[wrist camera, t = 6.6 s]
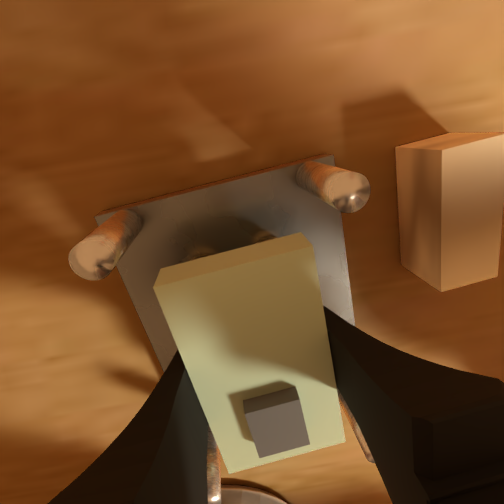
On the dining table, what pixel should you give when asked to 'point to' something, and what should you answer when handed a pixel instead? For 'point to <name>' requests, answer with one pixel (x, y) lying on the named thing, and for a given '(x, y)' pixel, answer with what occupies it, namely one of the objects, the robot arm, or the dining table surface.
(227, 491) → the mug
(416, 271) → the block
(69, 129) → the dining table surface
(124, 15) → the dining table surface
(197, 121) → the dining table surface
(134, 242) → the chassis
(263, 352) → the board
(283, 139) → the dining table surface
